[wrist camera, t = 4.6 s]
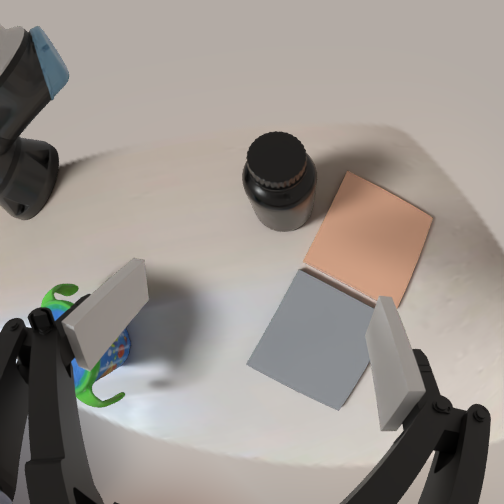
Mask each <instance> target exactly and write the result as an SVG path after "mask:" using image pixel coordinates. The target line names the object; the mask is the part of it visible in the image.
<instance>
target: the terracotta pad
mask: <svg viewBox="0 0 504 504" xmlns="http://www.w3.org/2000/svg"><path fill="white" fill-rule="evenodd" d="M432 219H433V217H431V216H429V215H428V214H426V213H424V212H423V211H421V210H419V209H418V208H416V207H414V206H413V205H411V204H409V203H407V202H406V201H404V200H402V199H400V198H399V197H397V196H395V195H393V194H391V193H389V192H388V191H386V190H384V189H382V188H380V187H378V186H376V185H375V184H373V183H371V182H369V181H367V180H365V179H363V178H361V177H359V176H357V175H355V174H353V173H351V172H349V171H347V173H346V175H345V177H344V179H343V181H342V183H341V186H340V188H339V190H338V192H337V194H336V196H335V198H334V200H333V202H332V204H331V206H330V209H329V211H328V213H327V215H326V217H325V219H324V221H323V223H322V225H321V227H320V229H319V231H318V233H317V235H316V237H315V239H314V241H313V243H312V245H311V247H310V249H309V251H308V253H307V254H306V256H305V258H304V260H303V262H304V263H306V264H308V265H310V266H312V267H314V268H316V269H317V270H319V271H321V272H323V273H325V274H327V275H329V276H331V277H333V278H335V279H337V280H338V281H340V282H342V283H344V284H346V285H348V286H350V287H352V288H354V289H355V290H357V291H359V292H361V293H363V294H365V295H367V296H369V297H371V298H372V299H374V300H376V301H377V300H378V297H379V296H387V297H392V299H393V301H394V304H395V306H396V309H397V307H398V305H399V303H400V301H401V299H402V297H403V294H404V292H405V290H406V288H407V285H408V283H409V281H410V278H411V276H412V273H413V271H414V269H415V266H416V264H417V261H418V258H419V256H420V253H421V251H422V248H423V245H424V242H425V240H426V237H427V234H428V231H429V228H430V225H431V222H432Z"/></svg>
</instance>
